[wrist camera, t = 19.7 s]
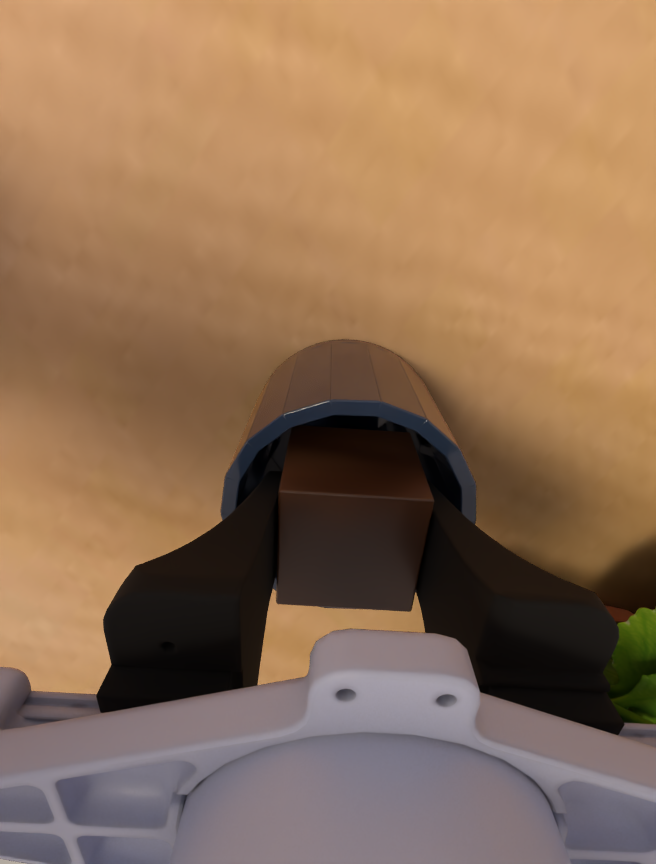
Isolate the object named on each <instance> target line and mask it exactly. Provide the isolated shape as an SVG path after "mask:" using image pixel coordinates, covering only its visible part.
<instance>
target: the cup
mask: <svg viewBox="0 0 656 864" xmlns="http://www.w3.org/2000/svg"><path fill="white" fill-rule="evenodd" d="M298 425H303V426H318V427H334V428H349V429H364V430H379V431H395V432H409V433H410V434H411V437H412V440H413V443H414V445H415V448H416V451H417V454H418V457H419V460H420V462H421V465H422V468H423V471H424V474H425V476H426V479H427V481H430V482H431V483H432V484H433V485H434V486H435V487H436V488H437V489H438V490H439V491H440V492H441V493H442V494H443V495H444V496H445V497H446V498H447V499H448V500H449V501H450V502H451V503H452V504H453V505H454V506H455V507H456V508H457V509H458V510H459V511H460V512H461V513H462V514H463V515H464V516H465V517H466V518H468V519H469V520H470V521H471V522H472V523H473V524H474V525H475V523H476V522H475V521H476V482H475V480H474V478H473V475H472V473H471V471H470V469H469V467H468V464H467V462H466V460H465V458H464V456H463V453H462V451H461V449H460V447H459V446H458V444H457V442H456V440H455V438H454V436H453V435H452V433H451V431H450V429H449V427H448V426H447V424H446V422H445V420H444V418H443V417H442V415H441V413H440V411H439V409H438V407H437V406H436V404H435V402H434V400H433V398H432V397H431V395H430V393H429V391H428V389H427V388H426V386H425V384H424V382H423V380H422V379H421V377H419V376H418V374H417V373H416V372H415V371H414V370H413V369H412V367H411V366H410V365H409V364H407V363H406V362H405V361H404V360H403V359H402V358H400V357H399V356H397V355H396V354H394V353H393V352H391V351H389V350H387V349H385V348H383V347H381V346H378V345H375V344H372V343H369V342H363V341H358V340H332V341H327V342H322V343H318V344H315V345H312V346H309V347H307V348H305V349H303V350H301V351H299V352H297V353H295V354H294V355H292V356H291V357H290V358H288V359H287V360H286V361H284V362H283V363H282V364H281V365H280V366H279V367H278V368H277V369H276V370H275V372H274V373H273V374H272V375H271V376H270V378H269V380H268V381H267V383H266V384H265V386H264V388H263V391H262V392H261V394H260V396H259V397H258V399H257V401H256V404H255V406H254V408H253V411H252V413H251V416H250V418H249V420H248V423H247V425H246V427H245V430H244V432H243V435H242V437H241V439H240V442H239V444H238V446H237V449H236V451H235V453H234V456H233V458H232V461H231V463H230V465H229V468H228V470H227V472H226V475H225V479H224V487H223V495H222V503H221V517H222V520H224V519H225V518H226V517H228V516H229V515H230V514H231V513H232V512H233V511H234V510H235V509H236V508H237V507H238V506H239V505H240V504H241V503H242V502H243V501H244V500H245V499H246V498H247V497H248V496H249V495H250V494H251V493H252V492H253V491H254V489H255V488H256V487H257V486H258V485H259V483H260V482H261V481H262V480H263V478H264V477H265V475H266V474H267V473H268V472H269V471H281V472H283V467H284V462H285V457H286V452H287V447H288V442H289V437H290V432H291V427H295V426H298ZM273 589H274V590H276V589H277V573H276V577H275V581H274V585H273ZM415 593H416V591H415ZM318 607H321V606H318ZM324 608H338V607H324ZM344 609H356V608H344Z"/></svg>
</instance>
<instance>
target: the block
mask: <svg viewBox="0 0 656 864" xmlns="http://www.w3.org/2000/svg"><path fill="white" fill-rule="evenodd" d="M433 505H434V499H433V496H432V493H431V490H430V488H429V485H428V482H427V479H426V476H425V474H424V471H423V468H422V465H421V462H420V460H419V457H418V454H417V451H416V448H415V445H414V443H413V440H412V437H411V434H410V433H409V432H395V431H379V430H364V429H349V428H334V427H318V426H303V425H298V426H295V427H291V432H290V437H289V442H288V447H287V452H286V457H285V462H284V467H283V472H282V476H281V481H280V486H279V491H278V539H277V589H276V602H277V604H287V605H304V606H321V607H338V608H356V609H373V610H390V611H408V612H409V611H411V609H412V605H413V600H414V595H415V591H416V586H417V581H418V576H419V572H420V567H421V562H422V557H423V552H424V548H425V543H426V538H427V533H428V529H429V524H430V519H431V514H432V510H433Z"/></svg>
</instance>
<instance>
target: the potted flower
mask: <svg viewBox="0 0 656 864" xmlns="http://www.w3.org/2000/svg"><path fill="white" fill-rule="evenodd" d="M605 607H606V608H607V610H608V611H609V613H610V614H611V616H612V617H613V618H614V620H615V622H616V624H617V626H618V628H619V640H618V643H617V646H616V648H615V650H614V652H613V654H612V656H611V658H610V660H609V662H608V663H607V665H606V667H605V669H604V671H603V674H604V675H605V677H606V679H607V680H608V682H609V684H610V688H611V689H610V691H609V692H606V693H607V694H608V696H609V698H610V700H611V701H612V703H613V705H614V706H615V708H616V710H617V712H618V713H619V715H620V717H621V719H622V720H623V722H624V723H638V724H656V606H655V610H650V609H648V608H639V609H638V610H637V611H636V613H635V614H633V613H631V612H630V611H628V610H625V609H621V608H616V607H612V606H605Z"/></svg>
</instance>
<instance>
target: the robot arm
mask: <svg viewBox="0 0 656 864" xmlns="http://www.w3.org/2000/svg"><path fill="white" fill-rule="evenodd" d="M281 476H282V472H281V471H269V472H268V473H267V474H266V475H265V477H264V478H263V480H262V481H261V482H260V483H259V485H258V486H257V487H256V488H255V489H254V491H253V492H252V493H251V494H250V495H249V496H248V497H247V498H246V499H245V500H244V501H243V502H242V503H241V504H240V505H239V506H238V507H237V508H236V509H235V510H234V511H233V512H232V513H231V514H230V515H229V516H228V517H226V518H225V519H224V520H223V521H222V522H220V523H219V524H218V525H216V526H215V527H214V528H212V529H211V530H210V531H208V532H206V533H205V534H203V535H202V536H200V537H198V538H197V539H195V540H193V541H192V542H190V543H188V544H186V545H184V546H182V547H181V548H178V549H176V550H174V551H172V552H170V553H168V554H166V555H163V556H161V557H158V558H156V559H153V560H150V561H148V562H145V563H143V564H140V565H137V566H135V567H134V569H133V570H132V572H131V573H130V574H129V576H128V577H127V578H126V579H125V581H124V582H123V584H122V585H121V587H120V588H119V590H118V592H117V593H116V595H115V597H114V598H113V600H112V602H111V604H110V605H109V607H108V609H107V611H106V613H105V616H104V619H103V625H104V633H105V638H106V642H107V646H108V651H109V655H110V659H111V664H112V665H111V667H110V669H109V671H108V673H107V675H106V677H105V679H104V681H103V683H102V685H101V687H100V689H99V691H98V693H97V694H79V693H60V692H42V691H31V686H30V682H29V680H28V677H27V676H26V674H25V673H24V672H22V671H20V670H19V669H15V668H11V667H0V859H4V860H9V861H15V862H21V863H27V864H656V724H638V723H624V722H623V720H622V719H621V717H620V715H619V713H618V712H617V710H616V708H615V706H614V705H613V703H612V701H611V700H610V698H609V696H608V694H607V693H606V692H609V691H610V689H611V688H610V684H609V682H608V680H607V679H606V677H605V675H604V674H603V671H604V669H605V667H606V665H607V663H608V662H609V660H610V658H611V656H612V654H613V652H614V650H615V648H616V646H617V643H618V640H619V628H618V626H617V624H616V622H615V620H614V618H613V617H612V616H611V614H610V613H609V611H608V610H607V608H606V607H605V606H604V604H603V603H602V601H601V600H600V599H599V597H598V596H597V595H596V593H595V592H592V591H590V590H587V589H585V588H582V587H580V586H577V585H575V584H573V583H570V582H568V581H565V580H563V579H561V578H558V577H556V576H554V575H552V574H550V573H548V572H546V571H544V570H542V569H540V568H538V567H536V566H535V565H533V564H531V563H529V562H527V561H526V560H524V559H522V558H521V557H519V556H517V555H516V554H514V553H512V552H511V551H509V550H508V549H506V548H505V547H503V546H502V545H500V544H499V543H498V542H496V541H495V540H493V539H492V538H491V537H489V536H488V535H487V534H485V533H484V532H483V531H482V530H480V529H479V528H478V527H477V526H476V525H474V524H473V523H472V522H471V521H470V520H469V519H468V518H466V517H465V516H464V515H463V514H462V513H461V512H460V511H459V510H458V509H457V508H456V507H455V506H454V505H453V504H452V503H451V502H450V501H449V500H448V499H447V498H446V497H445V496H444V495H443V494H442V493H441V492H440V491H439V490H438V489H437V488H436V487H435V486H434V485H433V484H432V483H431V482H430V481H427V482H428V485H429V488H430V490H431V493H432V496H433V499H434V505H433V510H432V514H431V519H430V524H429V529H428V533H427V538H426V543H425V548H424V552H423V557H422V562H421V567H420V572H419V576H418V581H417V586H416V592H417V596H418V599H419V603H420V607H421V611H422V616H423V620H424V626H425V633H418V632H401V631H383V630H366V629H345V630H337V631H332V632H330V633H329V634H327V635H325V636H324V637H322V638H320V639H319V640H317V641H316V643H315V645H314V647H313V649H312V651H311V653H310V666H309V671H308V674H307V676H305V677H302V678H296V679H290V680H285V681H279V682H274V683H268V684H263V685H257V683H258V675H259V668H260V660H261V653H262V646H263V639H264V632H265V625H266V618H267V611H268V606H269V601H270V597H271V593H272V589H273V585H274V581H275V577H276V573H277V539H278V491H279V486H280V481H281Z"/></svg>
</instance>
